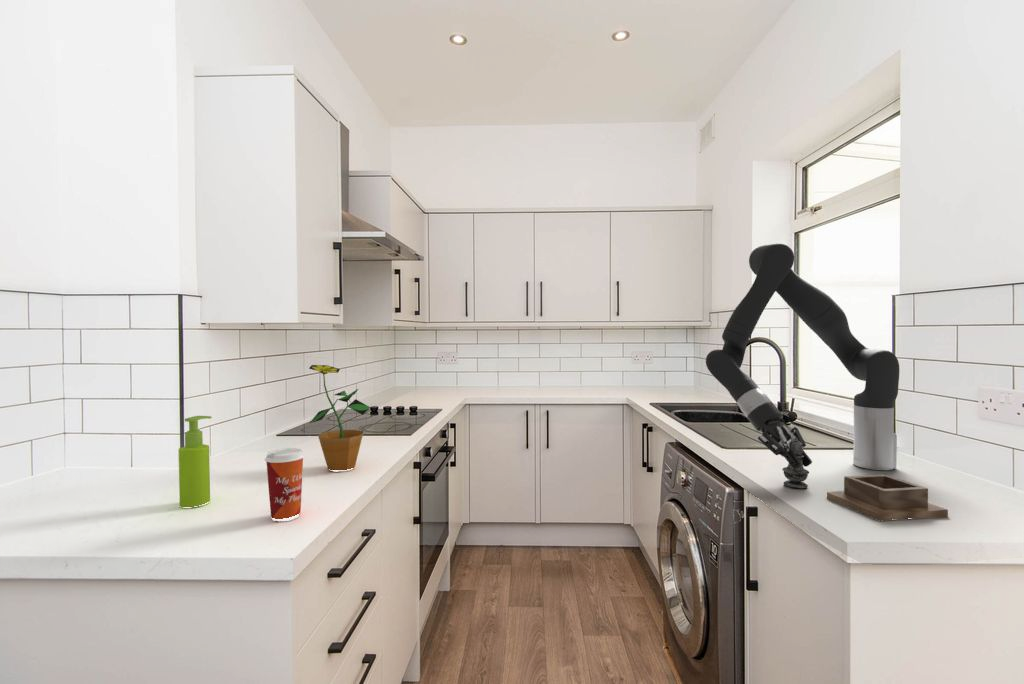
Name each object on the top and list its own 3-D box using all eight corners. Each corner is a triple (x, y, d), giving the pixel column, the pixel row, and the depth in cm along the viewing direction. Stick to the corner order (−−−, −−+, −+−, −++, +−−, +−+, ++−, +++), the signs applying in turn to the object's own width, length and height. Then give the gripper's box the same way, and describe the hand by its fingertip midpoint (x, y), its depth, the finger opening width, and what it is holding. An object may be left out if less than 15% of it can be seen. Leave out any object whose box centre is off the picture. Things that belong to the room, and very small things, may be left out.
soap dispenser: (220, 499, 117) (218, 414, 116) (192, 510, 110) (190, 420, 110) (201, 497, 119) (199, 413, 118) (173, 507, 112) (171, 418, 112)
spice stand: (888, 494, 117) (888, 471, 117) (947, 516, 104) (948, 490, 103) (826, 498, 115) (827, 474, 115) (879, 521, 101) (879, 494, 101)
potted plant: (314, 482, 130) (312, 367, 129) (304, 465, 146) (302, 363, 145) (382, 472, 139) (381, 364, 138) (365, 457, 155) (364, 361, 154)
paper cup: (280, 527, 100) (278, 457, 100) (258, 519, 104) (256, 453, 104) (313, 514, 107) (312, 449, 107) (291, 508, 111) (290, 445, 111)
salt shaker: (813, 489, 121) (813, 439, 120) (786, 487, 122) (786, 439, 122) (804, 481, 126) (804, 434, 126) (778, 480, 128) (779, 433, 127)
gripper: (750, 403, 127) (796, 461, 116) (785, 398, 133) (832, 454, 123) (732, 420, 132) (775, 478, 121) (767, 415, 138) (810, 469, 128)
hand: (803, 465), depth 122 cm, fingers closed on salt shaker, 3 cm apart
